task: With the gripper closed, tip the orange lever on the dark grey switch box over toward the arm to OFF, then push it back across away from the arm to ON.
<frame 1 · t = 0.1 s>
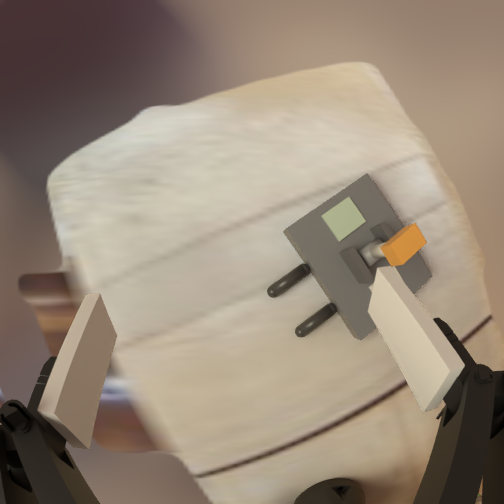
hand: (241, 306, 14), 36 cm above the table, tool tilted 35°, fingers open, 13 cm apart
breaker lever: (386, 249, 41), point 10 cm above the table, hinge at 0.0°
breaker box: (360, 255, 51), on the table
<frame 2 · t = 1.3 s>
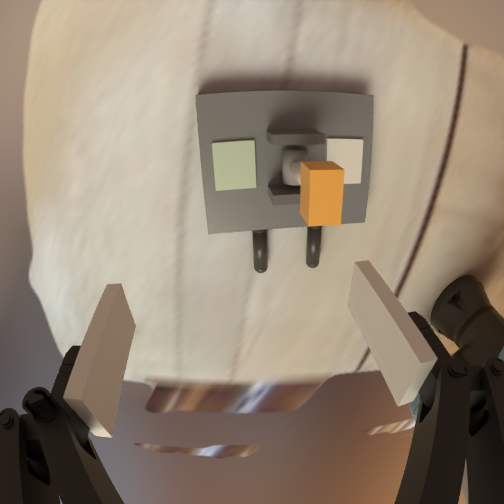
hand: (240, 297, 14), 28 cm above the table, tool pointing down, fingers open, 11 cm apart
breaker lever: (306, 177, 31), point 10 cm above the table, hinge at 0.0°
breaker box: (286, 156, 39), on the table
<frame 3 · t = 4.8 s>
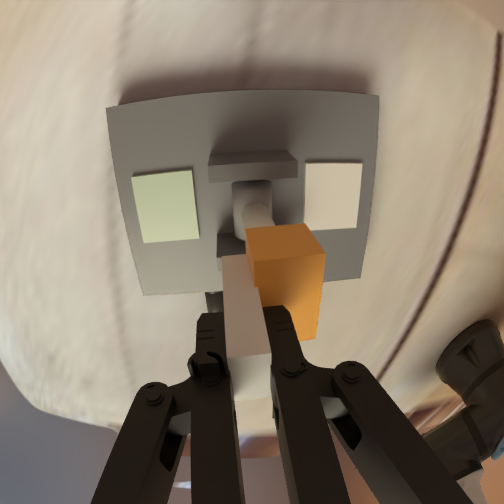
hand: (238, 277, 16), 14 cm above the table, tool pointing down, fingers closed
breaker lever: (263, 238, 19), point 10 cm above the table, hinge at -2.8°, touching gripper
breaker box: (247, 188, 28), on the table
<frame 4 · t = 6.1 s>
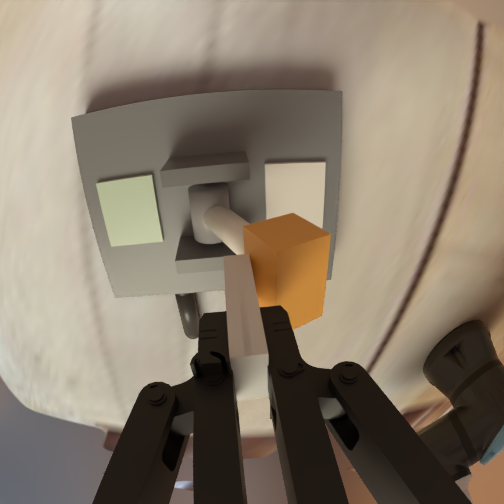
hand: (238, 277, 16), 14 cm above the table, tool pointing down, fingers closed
breaker lever: (240, 236, 20), point 10 cm above the table, hinge at -23.6°, touching gripper
breaker box: (211, 191, 28), on the table
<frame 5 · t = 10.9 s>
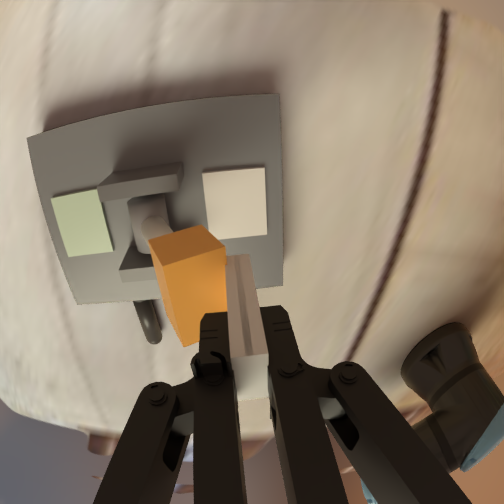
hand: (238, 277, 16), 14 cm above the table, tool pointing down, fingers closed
breaker lever: (166, 247, 20), point 10 cm above the table, hinge at -22.7°, touching gripper
breaker box: (159, 201, 28), on the table
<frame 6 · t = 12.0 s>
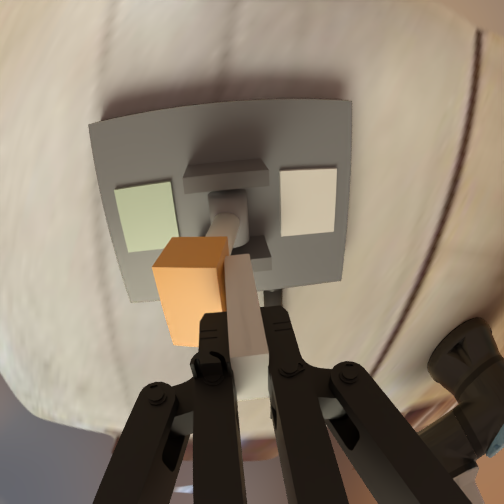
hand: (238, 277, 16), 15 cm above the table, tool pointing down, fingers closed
breaker lever: (216, 247, 20), point 10 cm above the table, hinge at 12.0°, touching gripper
breaker box: (226, 197, 29), on the table
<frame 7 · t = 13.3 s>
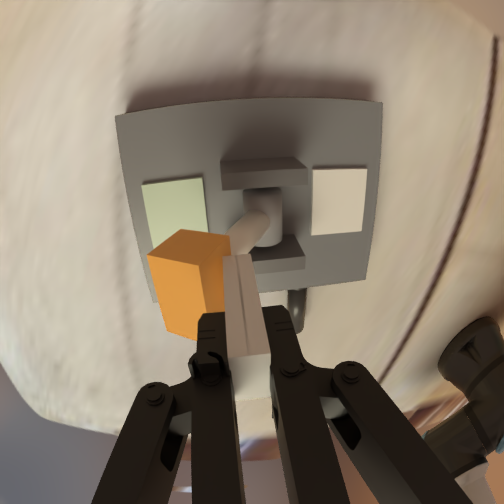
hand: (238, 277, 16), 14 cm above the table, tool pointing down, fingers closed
breaker lever: (235, 243, 20), point 9 cm above the table, hinge at 29.1°, touching gripper
breaker box: (255, 194, 28), on the table
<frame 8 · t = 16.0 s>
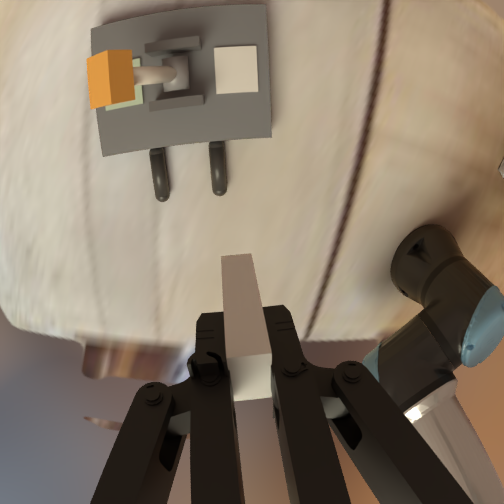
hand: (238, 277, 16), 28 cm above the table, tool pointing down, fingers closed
breaker lever: (146, 75, 26), point 9 cm above the table, hinge at 29.1°
breaker box: (180, 76, 34), on the table
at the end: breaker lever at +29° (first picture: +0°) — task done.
